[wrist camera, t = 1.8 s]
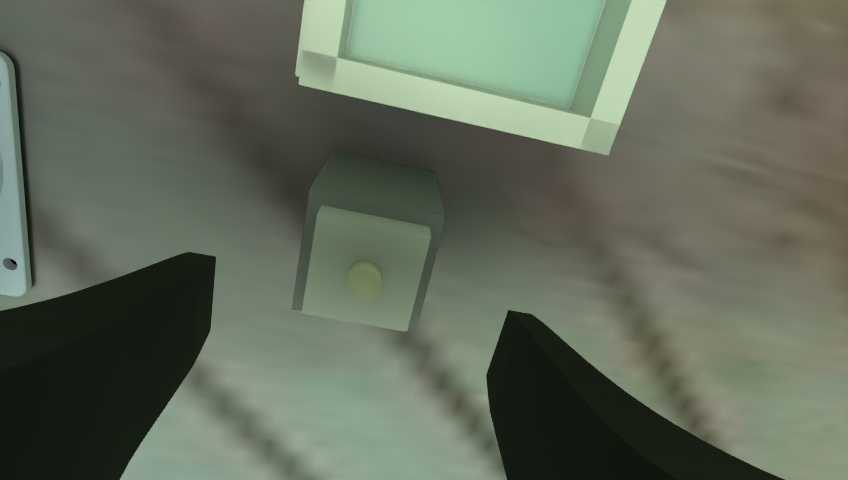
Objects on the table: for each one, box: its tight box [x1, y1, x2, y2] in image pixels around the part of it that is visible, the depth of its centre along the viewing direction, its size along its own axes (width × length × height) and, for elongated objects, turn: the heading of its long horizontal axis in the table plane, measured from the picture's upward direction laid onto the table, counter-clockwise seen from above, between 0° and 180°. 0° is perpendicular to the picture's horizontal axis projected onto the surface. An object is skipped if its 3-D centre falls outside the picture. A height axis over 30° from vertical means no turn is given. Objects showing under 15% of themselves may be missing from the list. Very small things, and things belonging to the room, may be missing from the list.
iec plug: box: [292, 150, 446, 332], centre depth 17 cm, size 4×4×7 cm
